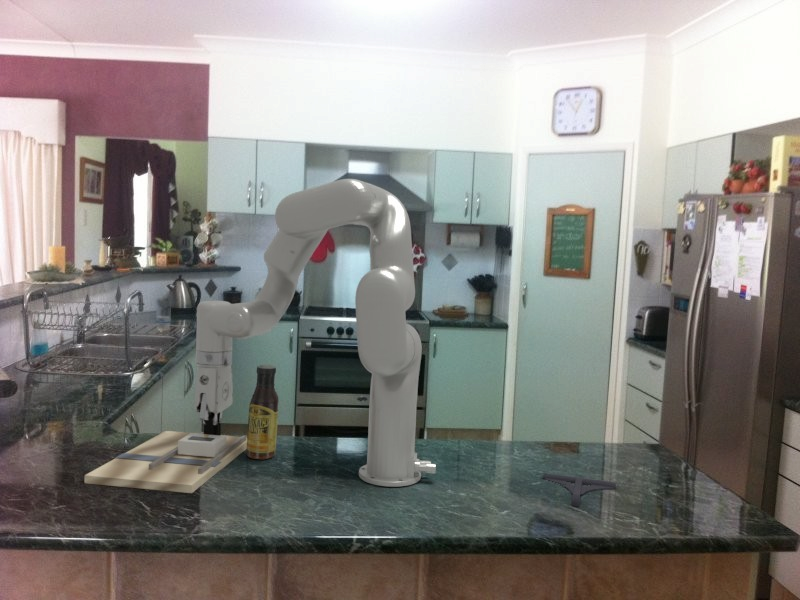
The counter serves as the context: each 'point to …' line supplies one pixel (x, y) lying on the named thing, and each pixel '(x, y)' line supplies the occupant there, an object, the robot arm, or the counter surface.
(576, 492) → the bracket
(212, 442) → the white rectangular box
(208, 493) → the counter surface
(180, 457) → the wooden cutting board
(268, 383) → the sauce bottle
